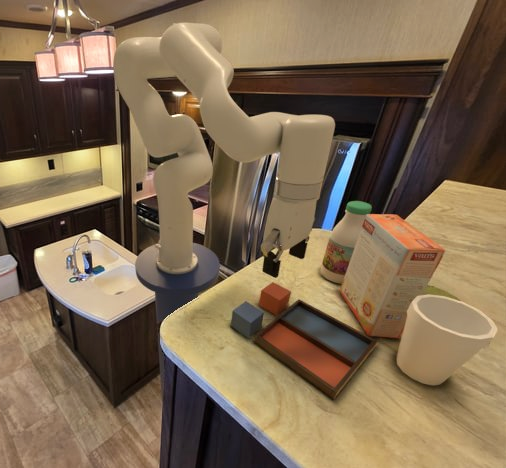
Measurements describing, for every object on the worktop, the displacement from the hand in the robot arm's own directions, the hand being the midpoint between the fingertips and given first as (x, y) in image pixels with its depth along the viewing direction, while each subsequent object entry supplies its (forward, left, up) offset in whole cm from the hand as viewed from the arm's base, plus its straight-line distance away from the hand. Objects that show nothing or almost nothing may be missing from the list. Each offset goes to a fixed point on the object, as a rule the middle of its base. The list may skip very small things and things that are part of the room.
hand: (283, 265), depth 61 cm
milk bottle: (+4, +22, -12) cm, 25 cm away
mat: (+21, +25, -12) cm, 34 cm away
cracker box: (+14, +13, -12) cm, 22 cm away
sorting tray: (+11, -4, -12) cm, 16 cm away
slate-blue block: (0, -10, -12) cm, 15 cm away
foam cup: (+25, +5, -12) cm, 28 cm away
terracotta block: (0, 0, -12) cm, 12 cm away
